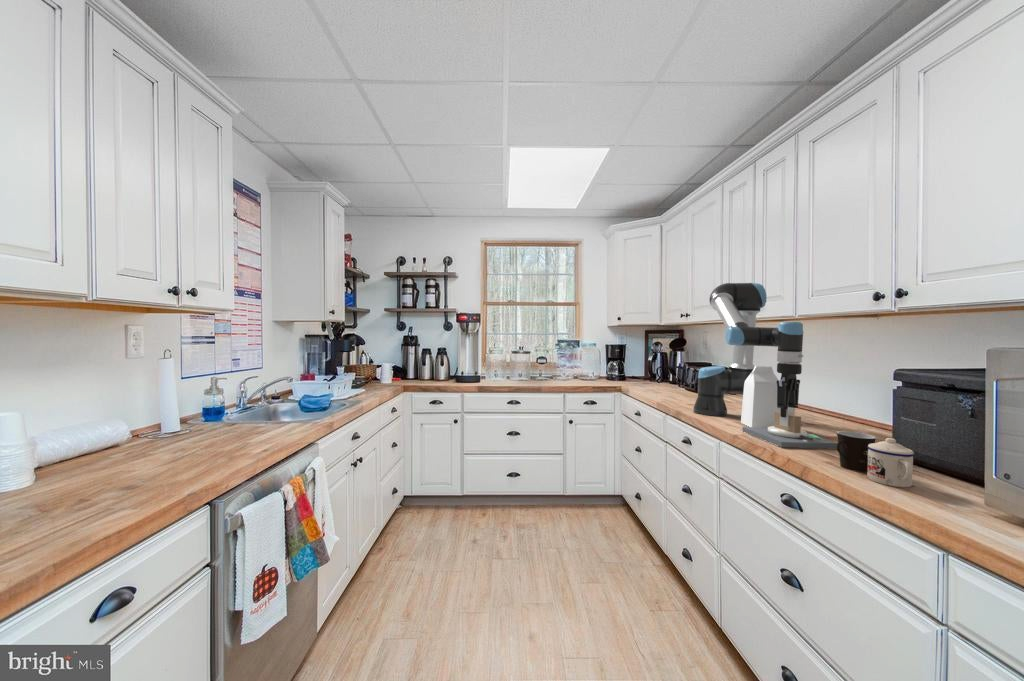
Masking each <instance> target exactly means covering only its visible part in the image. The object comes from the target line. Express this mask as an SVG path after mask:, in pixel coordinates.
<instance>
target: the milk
mask: <svg viewBox="0 0 1024 681" xmlns="http://www.w3.org/2000/svg"><path fill="white" fill-rule="evenodd" d="M754 366H755V367H754V369H753V371H752V372H751V374H750V375H749V376H748V377H747V379H746V380H745V382H744V392H743V394H742V404H741V419H740V423H741V424H743V425H744V424H745V425H744V426H746V425H747V426H746V427H748V426H749V427H770V426H774V419H775V412H780V408H778V407H777V380H779V379H778V377H777V375H776V374H775V372H774V370H773V367H772V366H765V365H754Z"/></svg>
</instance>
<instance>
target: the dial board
mask: <svg viewBox="0 0 1024 681" xmlns="http://www.w3.org/2000/svg"><path fill="white" fill-rule="evenodd" d="M742 431H743V432H742V433H744V432H746V433H748V434H747V435H749V434H751V435H753V436H752V437H754V436H756V437H758V438H761V439H763V440H766V441H768V442H771V443H773V444H776V445H778V446H781V447H800V448H799V449H814V448H837V444H838V442H835V441H833V440H830V439H826V438H824V437H820V436H818V435H816V434H813V433H808V432H807V437H811V438H813V440H807V439H804V438H789V437H782V436H778V435H774V434H771V433H769V432H768V427H748V426H742ZM746 433H745V434H746ZM751 435H750V436H751ZM756 437H755V438H756ZM758 438H757V439H758ZM761 439H760V440H761ZM763 440H762V441H763ZM766 441H765V442H766ZM768 442H767V443H768ZM771 443H770V444H771ZM773 444H772V445H773ZM778 446H777V447H778Z"/></svg>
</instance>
